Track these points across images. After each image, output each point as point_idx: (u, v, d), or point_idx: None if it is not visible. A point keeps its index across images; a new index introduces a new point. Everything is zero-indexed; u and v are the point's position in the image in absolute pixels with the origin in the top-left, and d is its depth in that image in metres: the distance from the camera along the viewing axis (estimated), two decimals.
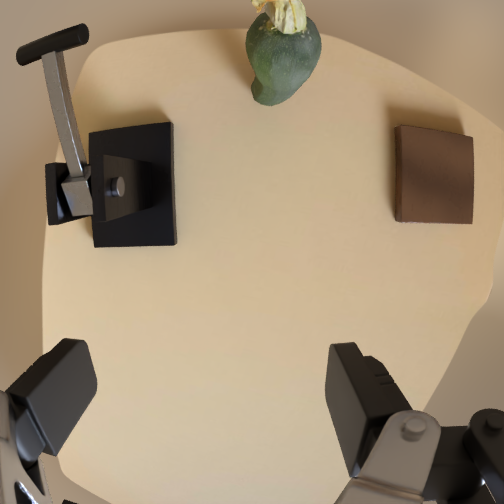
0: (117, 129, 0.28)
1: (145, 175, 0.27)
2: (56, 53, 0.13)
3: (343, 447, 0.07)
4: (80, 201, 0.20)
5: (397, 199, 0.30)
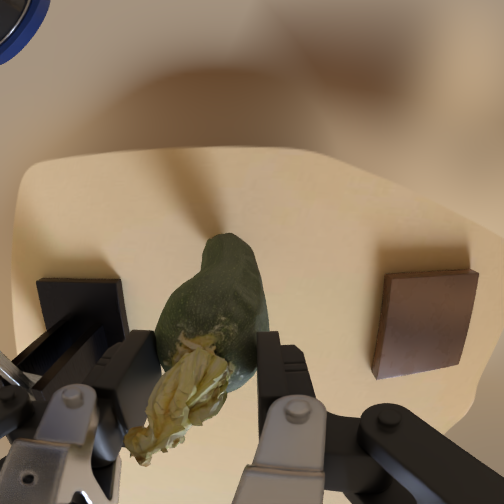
0: (62, 283, 0.25)
1: (97, 346, 0.24)
2: None
3: (258, 428, 0.08)
4: None
5: (376, 354, 0.27)
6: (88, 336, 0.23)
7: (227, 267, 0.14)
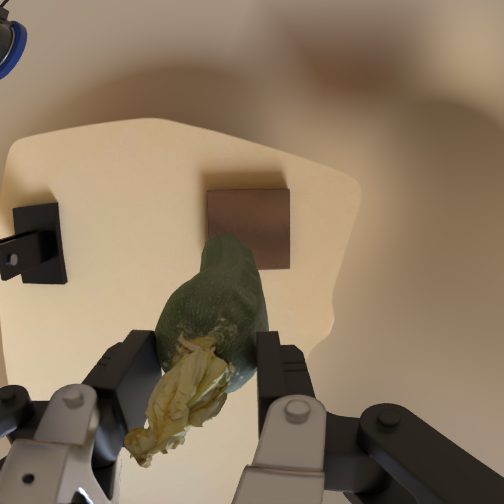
0: (26, 207, 0.38)
1: (40, 241, 0.38)
2: None
3: None
4: None
5: None
6: (35, 233, 0.37)
7: (226, 268, 0.14)
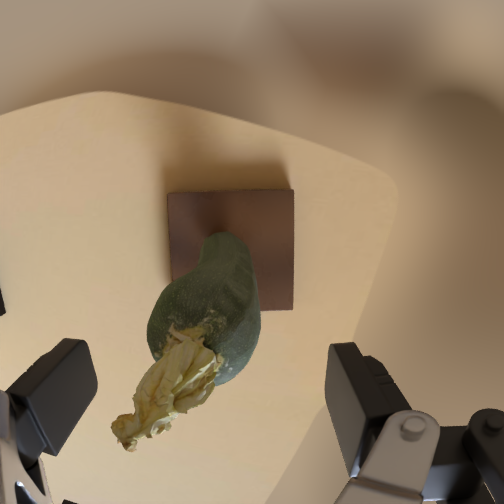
0: None
1: None
2: None
3: (342, 447, 0.07)
4: None
5: None
6: None
7: (220, 263, 0.14)
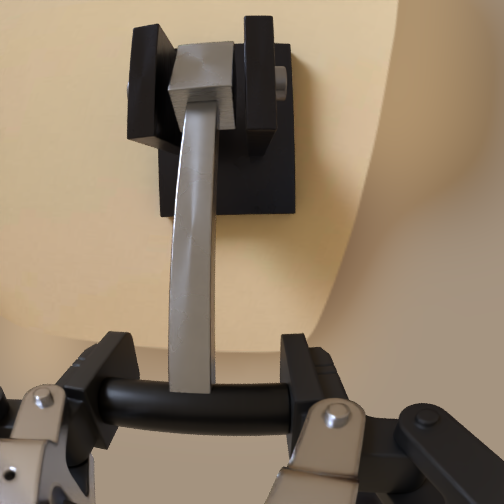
0: (243, 212, 0.21)
1: None
2: (169, 383, 0.08)
3: None
4: (200, 59, 0.10)
5: None
6: None
7: None
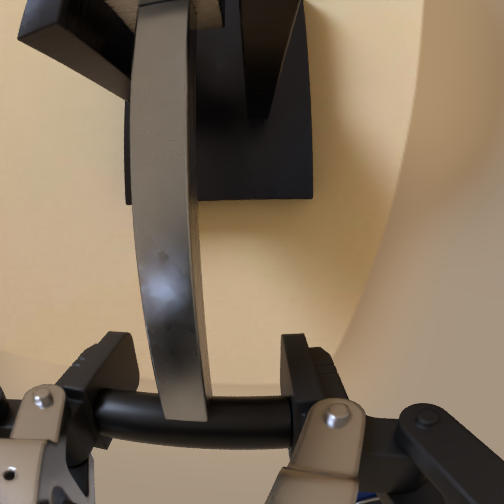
0: (239, 197, 0.15)
1: None
2: None
3: None
4: None
5: None
6: None
7: None
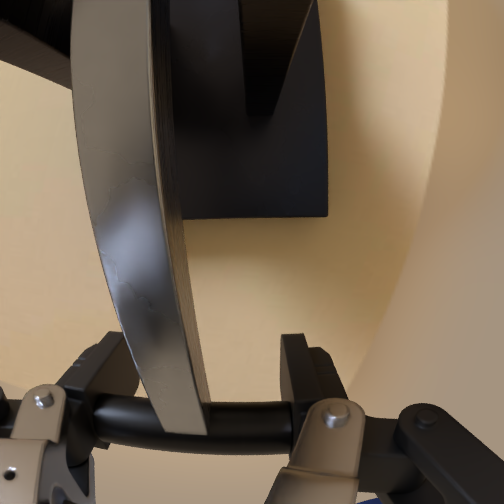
0: (236, 214, 0.12)
1: None
2: None
3: None
4: None
5: None
6: None
7: None
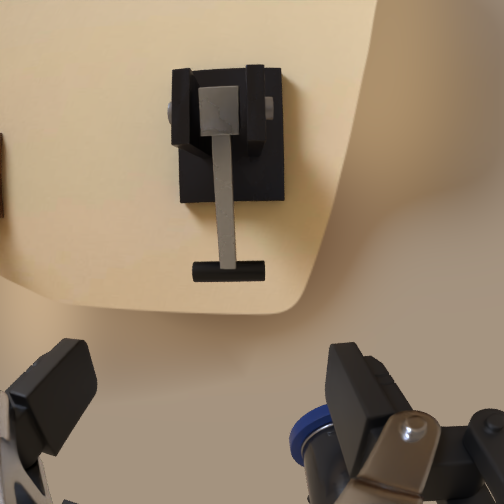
0: (244, 199, 0.27)
1: None
2: (220, 265, 0.22)
3: (343, 447, 0.07)
4: (217, 107, 0.16)
5: None
6: (199, 156, 0.24)
7: None
